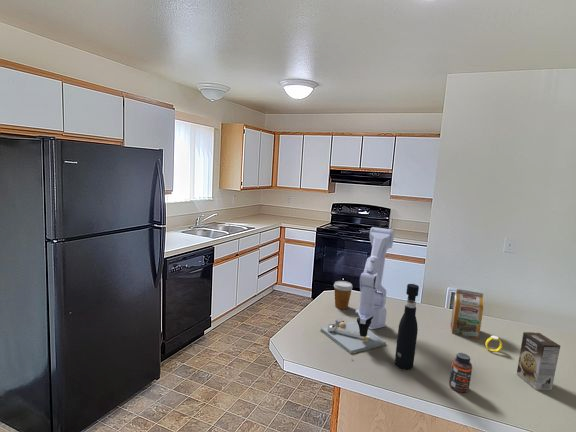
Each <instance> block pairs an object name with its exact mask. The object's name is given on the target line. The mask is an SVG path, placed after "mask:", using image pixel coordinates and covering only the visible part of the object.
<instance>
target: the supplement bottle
mask: <svg viewBox="0 0 576 432" xmlns="http://www.w3.org/2000/svg"><path fill="white" fill-rule="evenodd" d="M472 370H473V364H472V363H471V356H470V355H469V354H467V353H464V352H457V353H456V356H455V358H453V359H452V362H451V367H450V374H449V380H448V381H449V382H448V385H449V387H450V388H451V389H453V390H454V391H456V392H459V393H467V392H469V389H470V384H471V379H472Z"/></svg>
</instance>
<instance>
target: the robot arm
mask: <svg viewBox="0 0 576 432" xmlns="http://www.w3.org/2000/svg"><path fill="white" fill-rule="evenodd" d="M394 236H395V231H394V229H393V228H391V229H389V228H382V227H375V226H372V227H371V228H370V230H369V236H368V237H369V241H370V245H371V253H370V256H369V257H367V259H366V262H365V265H364V269H363V272H361V274H360V277H359V291H360V293H359V294H360V295H359V305H358V309H356V310H355V313H356V314H358V316H359V317H357V319H356V323H357V324H358V325H359V331H360V336H363V337H366V334H367V330H368V331H369V330H376V329H379V328H384V327H387V324H386V321H387V319H386V318H387V308H386V303H387V302H386V301H387V289H386V288H385V287H384V286H382V281H383V277H384V276H383V275H384V269H385V261H386V253H387V251H388V250H389V249H392V246H394V245H393V242H394Z"/></svg>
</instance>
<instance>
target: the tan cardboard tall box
mask: <svg viewBox="0 0 576 432" xmlns="http://www.w3.org/2000/svg"><path fill="white" fill-rule="evenodd" d="M452 304H453V305H452V311H451V319H450V329H451V334H453V335H458V336H463V337H467V338H471V339H478V340H479V339H480V332H481V327H482V319H483V312H484V293H483V292H479V291H474V290H467V289H461V288H456V290H455V293H454V298H453V303H452Z"/></svg>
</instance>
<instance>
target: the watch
mask: <svg viewBox="0 0 576 432" xmlns="http://www.w3.org/2000/svg"><path fill="white" fill-rule="evenodd" d="M490 341H499V345H498V347H496V348H495V349H493V348H489V346H488V345H489V343H490ZM484 344H485V347H486V349H487V350H488V351H489V352H496V353H498V352H500V351H501V350H502V348H503V342H502V340H501V339H500V338H499V336H497V335H490V337H488V338H487V339H486V341H485V343H484Z"/></svg>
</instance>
